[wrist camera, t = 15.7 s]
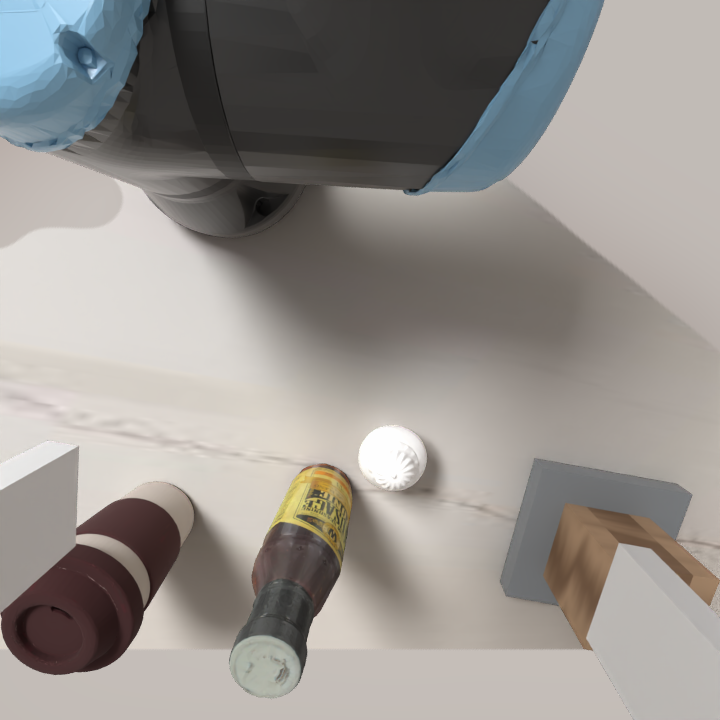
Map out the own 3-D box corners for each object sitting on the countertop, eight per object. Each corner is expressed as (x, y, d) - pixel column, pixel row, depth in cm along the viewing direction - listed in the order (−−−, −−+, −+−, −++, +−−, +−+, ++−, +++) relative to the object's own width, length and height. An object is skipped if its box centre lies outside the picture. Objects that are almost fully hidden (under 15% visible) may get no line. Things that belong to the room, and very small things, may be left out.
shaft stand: (534, 458, 39) (573, 503, 32) (676, 483, 39) (751, 535, 32) (500, 581, 42) (528, 650, 34) (632, 605, 42) (690, 679, 34)
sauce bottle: (365, 494, 41) (355, 690, 22) (317, 526, 42) (266, 742, 22) (325, 445, 40) (277, 603, 21) (277, 479, 41) (188, 661, 22)
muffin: (433, 455, 40) (444, 492, 33) (377, 481, 41) (378, 523, 34) (404, 402, 39) (410, 428, 32) (348, 429, 40) (342, 461, 33)
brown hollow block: (623, 590, 40) (687, 671, 32) (542, 575, 40) (585, 652, 32) (649, 517, 38) (723, 583, 30) (565, 502, 38) (616, 563, 30)
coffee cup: (147, 566, 44) (32, 713, 29) (97, 490, 42) (-53, 605, 27) (226, 532, 42) (146, 666, 28) (176, 452, 41) (64, 550, 26)
